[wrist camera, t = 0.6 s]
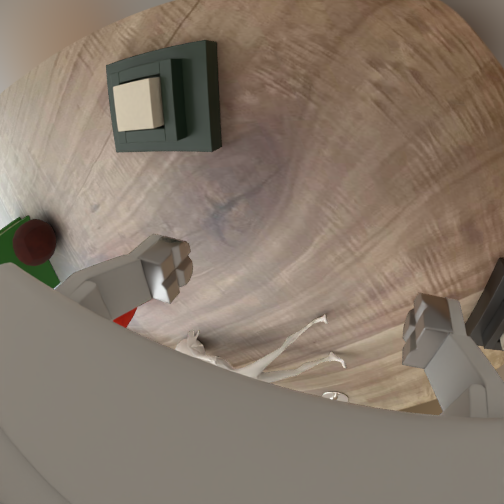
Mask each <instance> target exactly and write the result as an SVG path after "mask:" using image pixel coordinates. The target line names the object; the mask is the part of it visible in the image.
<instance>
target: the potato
mask: <svg viewBox="0 0 504 504" xmlns="http://www.w3.org/2000/svg"><path fill="white" fill-rule="evenodd" d="M55 248H56V235H55V232H54V230H53V228H52V227H51V226H50V225H49V224H48V223H47V222H44V221H42V220H39V219H32V220H29V221H27V222H25V223H24V224H22V225H21V226H20V227H19V228H18V229H17V230H16V231H15V234H14V237H13V249H14V252H15V255H16V256H17V258H18V259H19V260H20V261H21V262H23V263H24V264H26V265H29V266H38V265H41V264H43V263H45V262H46V261H47V260H48V259H50V258H51V256H52V255H53V253H54V251H55Z"/></svg>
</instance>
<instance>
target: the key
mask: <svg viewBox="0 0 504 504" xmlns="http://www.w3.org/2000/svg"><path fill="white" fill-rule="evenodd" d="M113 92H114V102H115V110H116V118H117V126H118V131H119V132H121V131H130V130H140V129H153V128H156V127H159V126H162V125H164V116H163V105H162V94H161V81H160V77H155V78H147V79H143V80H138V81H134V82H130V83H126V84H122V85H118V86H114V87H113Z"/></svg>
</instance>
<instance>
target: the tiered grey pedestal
mask: <svg viewBox="0 0 504 504" xmlns="http://www.w3.org/2000/svg"><path fill="white" fill-rule="evenodd" d="M465 329H466V334H467V336H469V337H471V338H472V339H473V341H474V342H475V343H476V345H478V346H484V349H493V350H502V346H501V342H500V337H501V336H502V334H503V333H504V259H502V258H499V260H498V262H497V264H496V266H495V269H494V271H493V273H492V275H491V277H490V279H489V281H488V283H487V286H486V288H485V290H484V292H483V293H482V295H481V297H480V299H479V301H478V303H477V305H476V307H475V308H474V310H473V312H472V314H471V316H470V317H469V319H468V321H467V322H466V324H465ZM502 351H504V350H502Z"/></svg>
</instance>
